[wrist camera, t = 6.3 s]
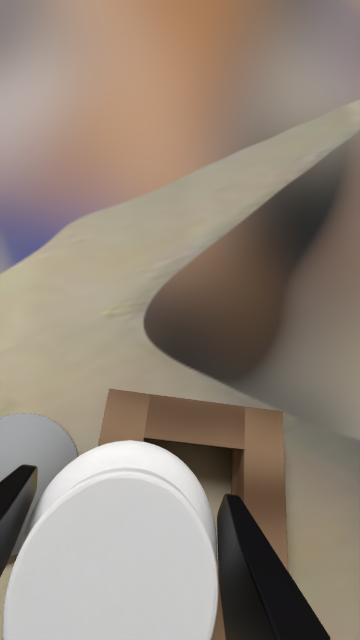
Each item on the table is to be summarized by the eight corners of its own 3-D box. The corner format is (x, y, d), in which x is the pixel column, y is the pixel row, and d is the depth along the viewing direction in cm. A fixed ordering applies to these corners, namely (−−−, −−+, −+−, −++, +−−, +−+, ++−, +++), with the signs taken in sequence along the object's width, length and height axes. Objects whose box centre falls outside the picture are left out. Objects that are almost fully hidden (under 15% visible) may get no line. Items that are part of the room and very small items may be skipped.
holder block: (270, 618, 18) (290, 644, 16) (70, 606, 17) (60, 632, 14) (267, 414, 23) (282, 411, 20) (111, 394, 22) (109, 388, 19)
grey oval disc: (61, 561, 17) (60, 564, 17) (-82, 551, 17) (-86, 553, 16) (92, 421, 21) (91, 420, 20) (-27, 406, 20) (-30, 406, 20)
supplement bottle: (171, 432, 16) (220, 416, 7) (193, 552, 14) (298, 741, 5) (66, 454, 15) (-36, 468, 6) (73, 588, 13) (-64, 917, 4)
